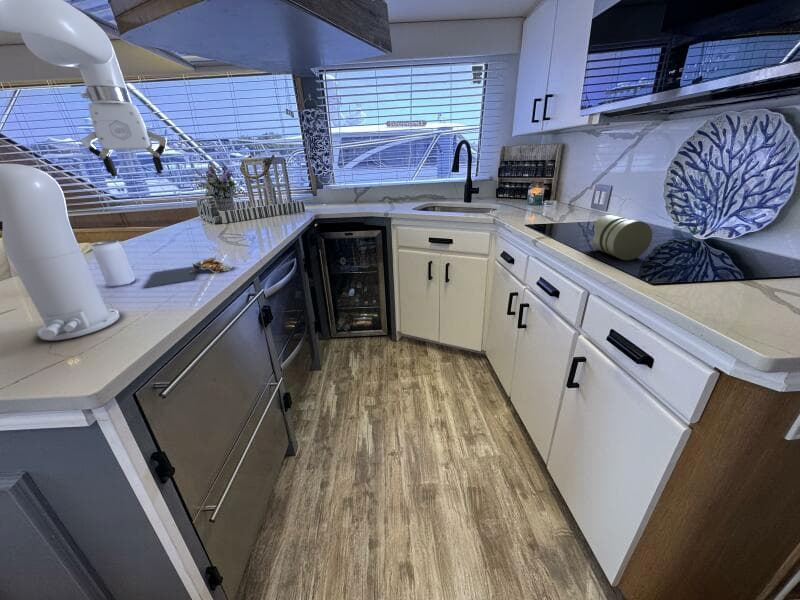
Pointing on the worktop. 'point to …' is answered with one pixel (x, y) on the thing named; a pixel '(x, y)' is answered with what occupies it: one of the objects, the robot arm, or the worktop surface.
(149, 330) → the worktop surface
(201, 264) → the pastry
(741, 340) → the worktop surface
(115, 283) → the can
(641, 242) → the piston
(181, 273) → the slate mat
